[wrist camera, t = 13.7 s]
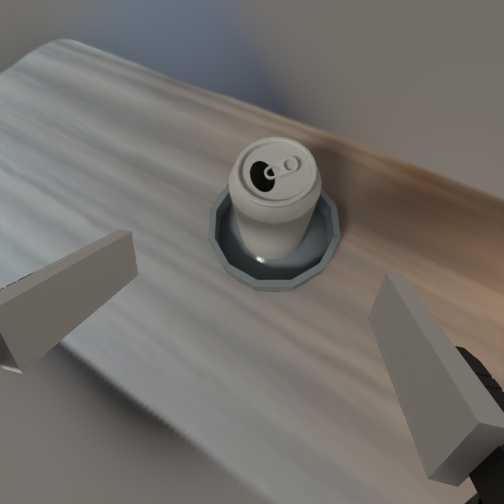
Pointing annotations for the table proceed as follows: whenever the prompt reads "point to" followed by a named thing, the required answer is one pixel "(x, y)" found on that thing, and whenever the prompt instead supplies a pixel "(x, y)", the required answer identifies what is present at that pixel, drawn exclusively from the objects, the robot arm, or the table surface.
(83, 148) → the table surface
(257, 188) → the can
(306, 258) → the dish
